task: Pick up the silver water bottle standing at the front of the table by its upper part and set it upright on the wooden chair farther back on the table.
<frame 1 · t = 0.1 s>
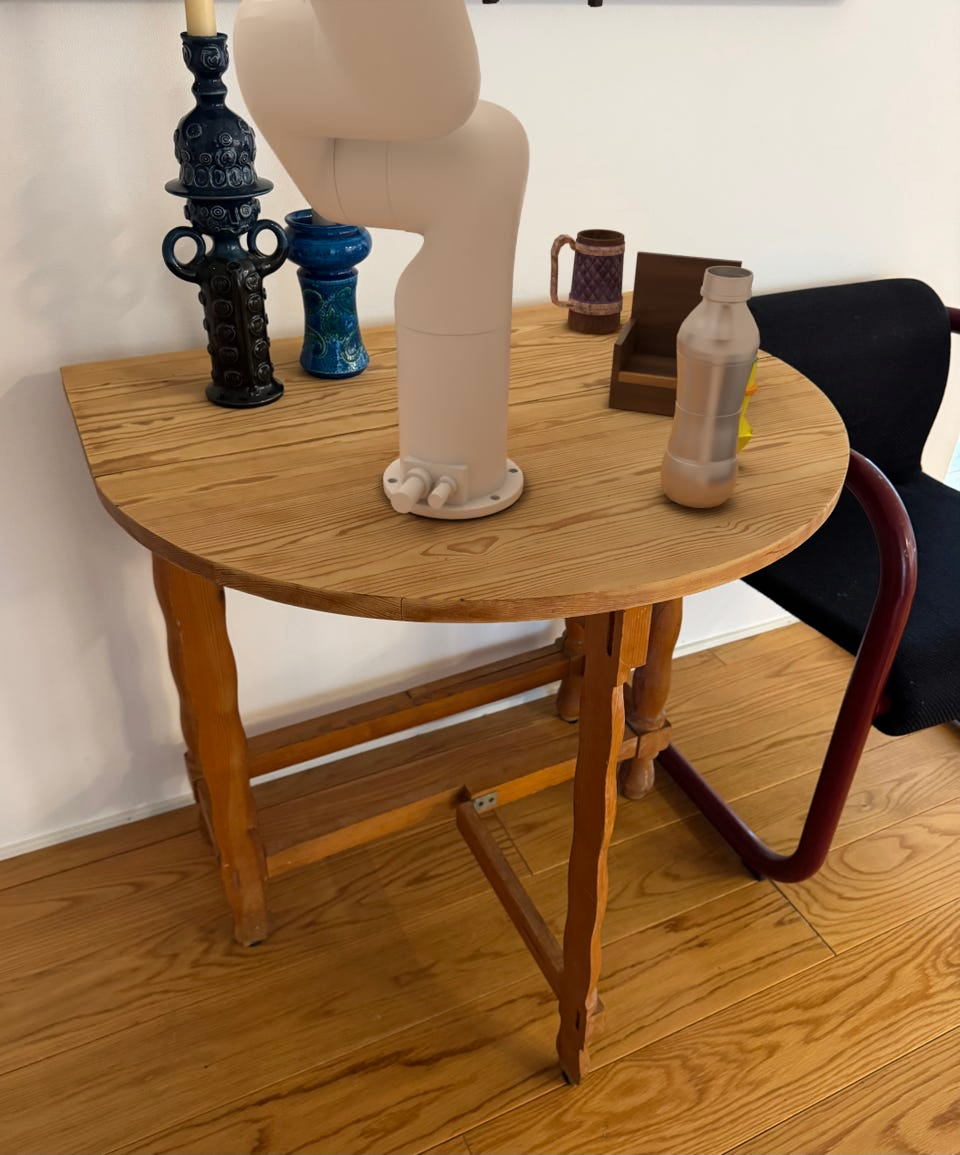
hand: (542, 5, 85), 37 cm above the table, tool pointing down, fingers open, 9 cm apart
toy figure: (721, 466, 91), on the table
wooden chair: (666, 397, 104), on the table
silver water bottle: (694, 501, 85), on the table
mug: (582, 328, 124), on the table
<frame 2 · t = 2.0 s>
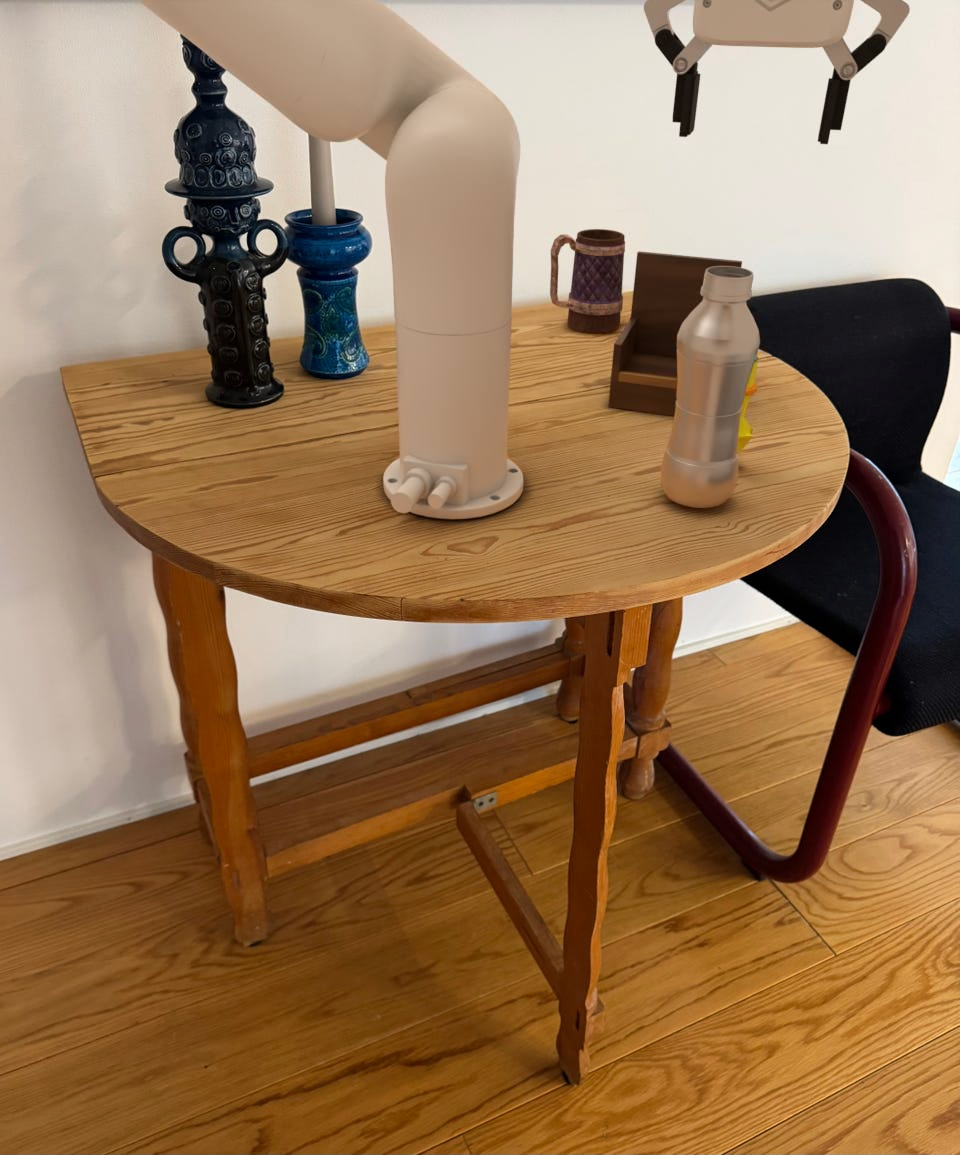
hand: (753, 137, 68), 30 cm above the table, tool pointing down, fingers open, 9 cm apart
nothing on the table moved.
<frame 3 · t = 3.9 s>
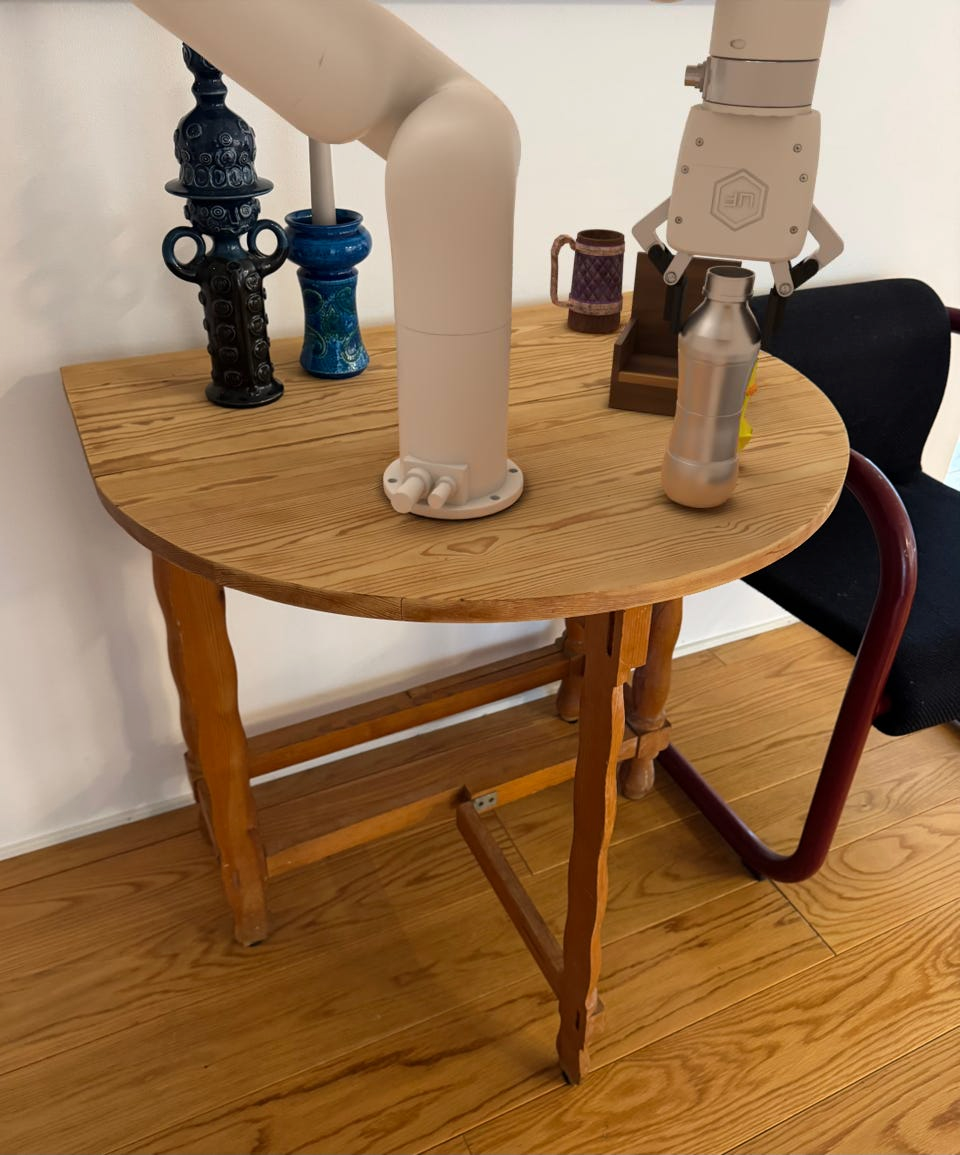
hand: (720, 334, 76), 15 cm above the table, tool pointing down, fingers closed on silver water bottle, 6 cm apart
silver water bottle: (694, 501, 85), on the table, touching gripper
everything else where it was.
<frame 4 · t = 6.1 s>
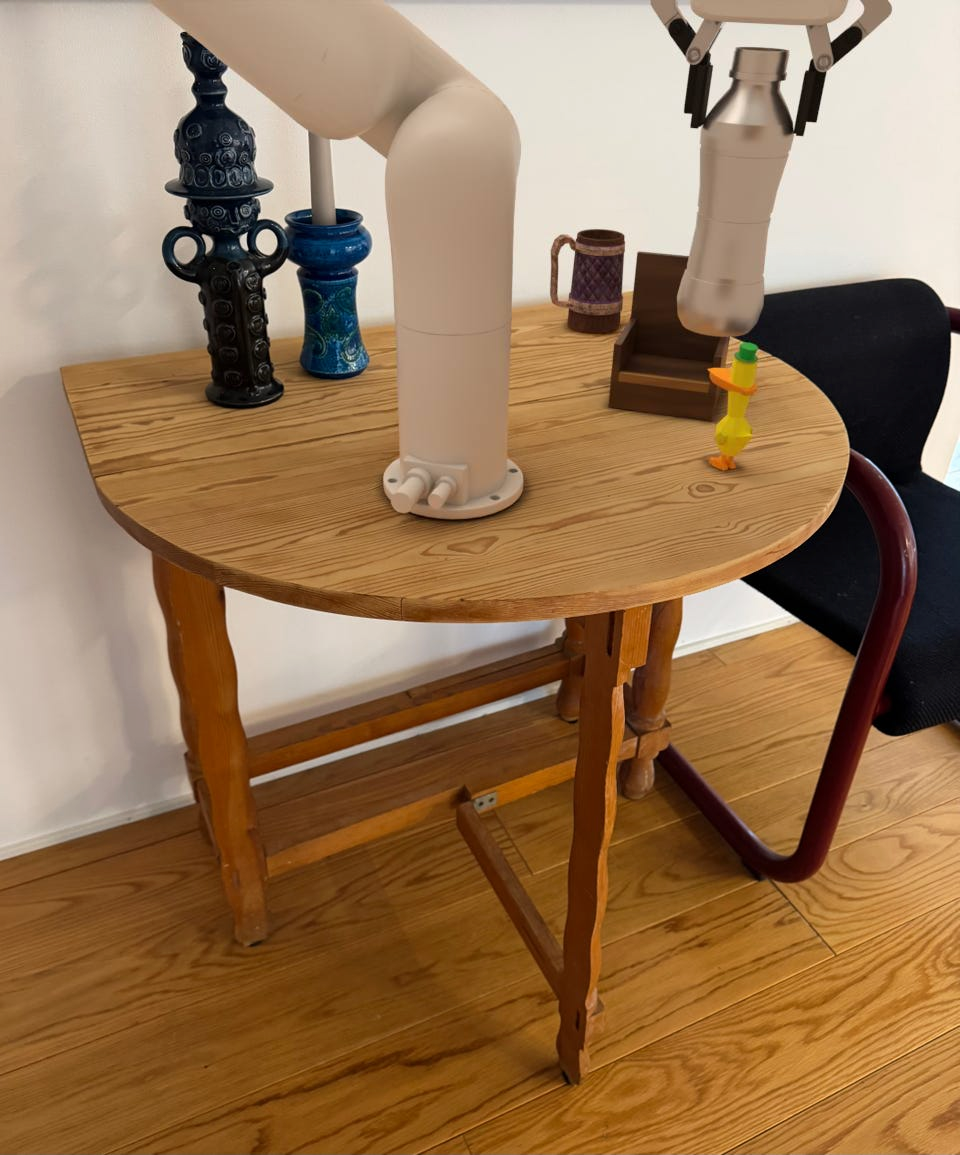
hand: (748, 127, 68), 30 cm above the table, tool pointing down, fingers closed on silver water bottle, 6 cm apart
silver water bottle: (713, 335, 76), point 15 cm above the table, touching gripper
everything else where it was.
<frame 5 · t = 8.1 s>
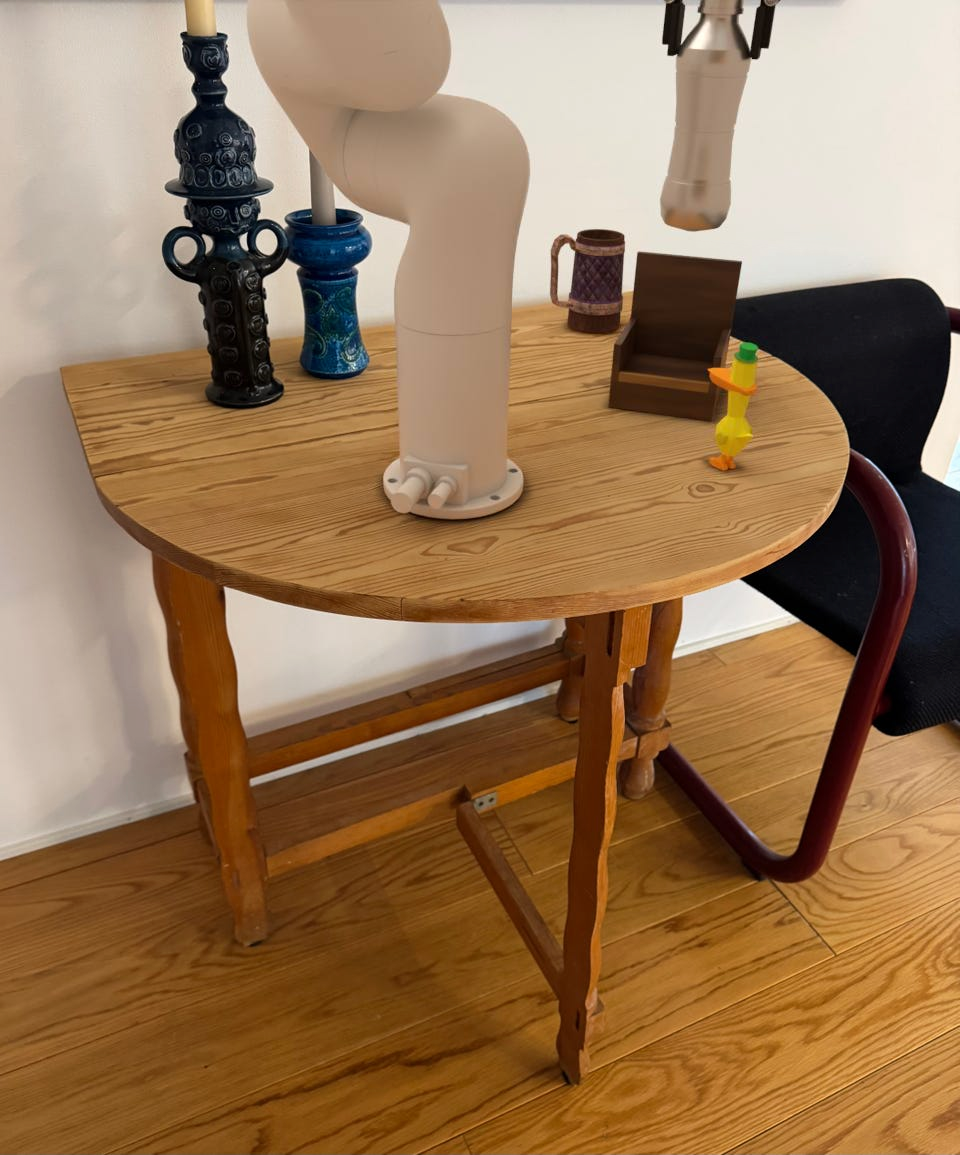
hand: (713, 54, 84), 33 cm above the table, tool pointing down, fingers closed on silver water bottle, 6 cm apart
silver water bottle: (690, 231, 93), point 18 cm above the table, touching gripper
everything else where it was.
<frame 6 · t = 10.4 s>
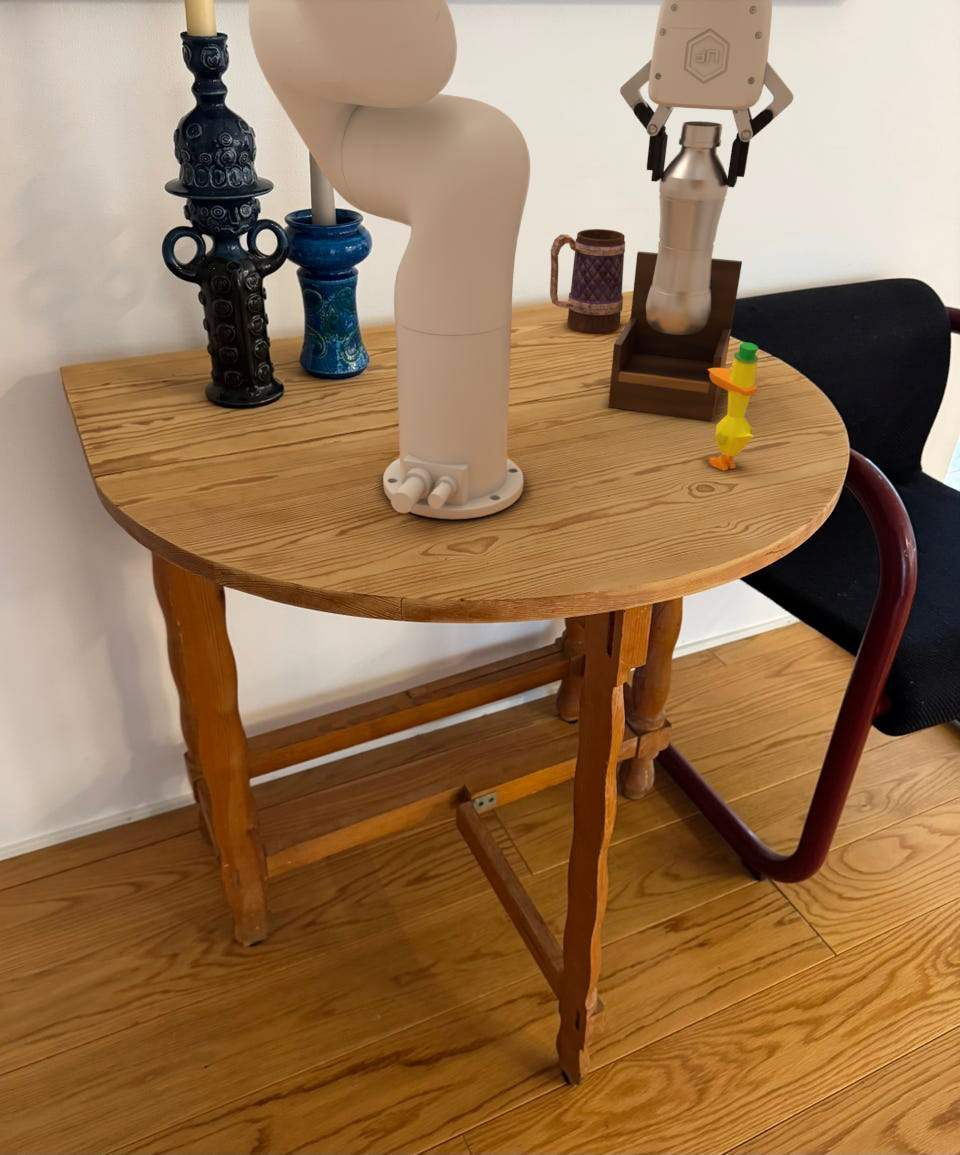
hand: (694, 180, 92), 22 cm above the table, tool pointing down, fingers closed on silver water bottle, 6 cm apart
silver water bottle: (674, 333, 100), point 7 cm above the table, touching gripper
everything else where it was.
when the fingers open (18 cm above the table, at t = 12.1 s): silver water bottle stays where it is, resting on wooden chair.
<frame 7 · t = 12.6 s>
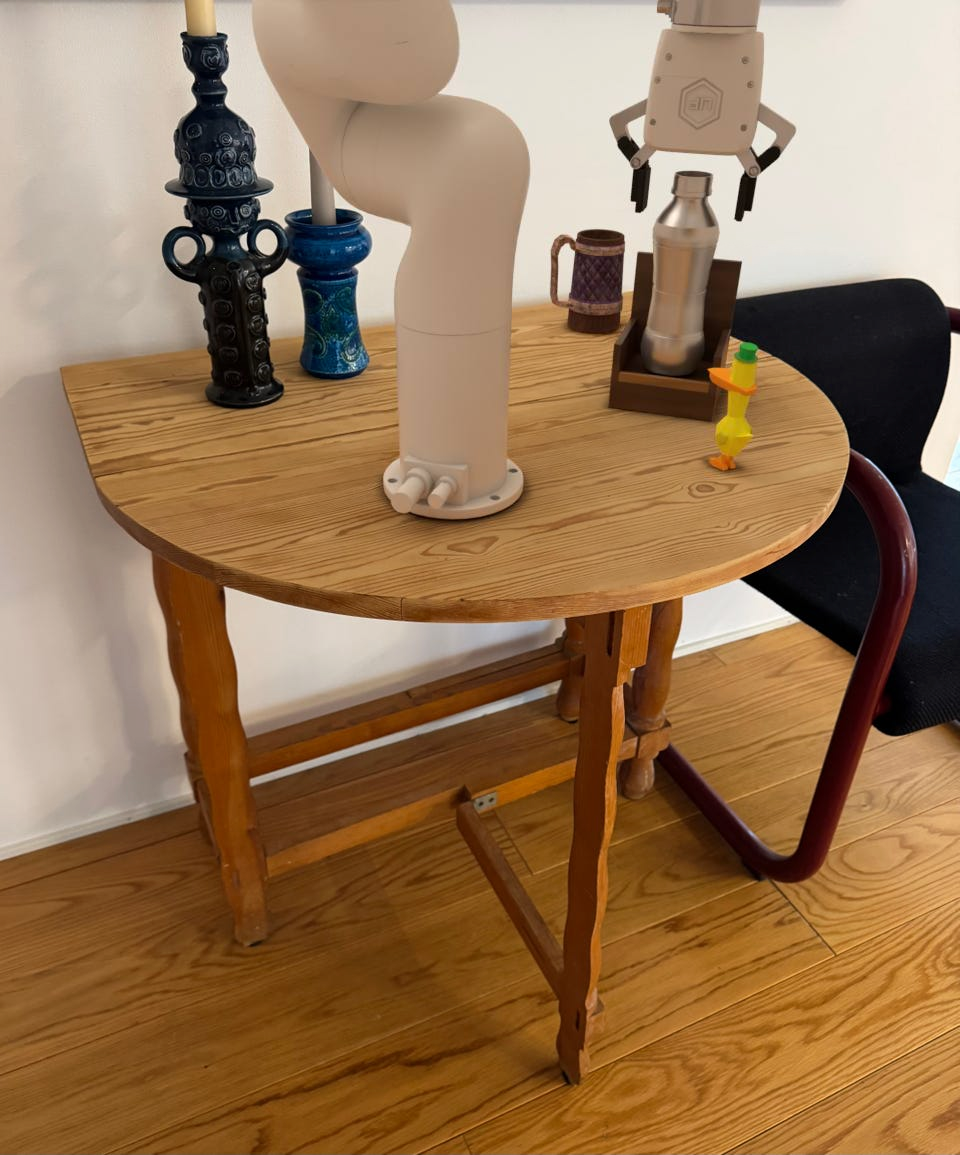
hand: (689, 214, 94), 19 cm above the table, tool pointing down, fingers open, 9 cm apart
silver water bottle: (668, 373, 103), point 3 cm above the table, touching wooden chair
everything else where it was.
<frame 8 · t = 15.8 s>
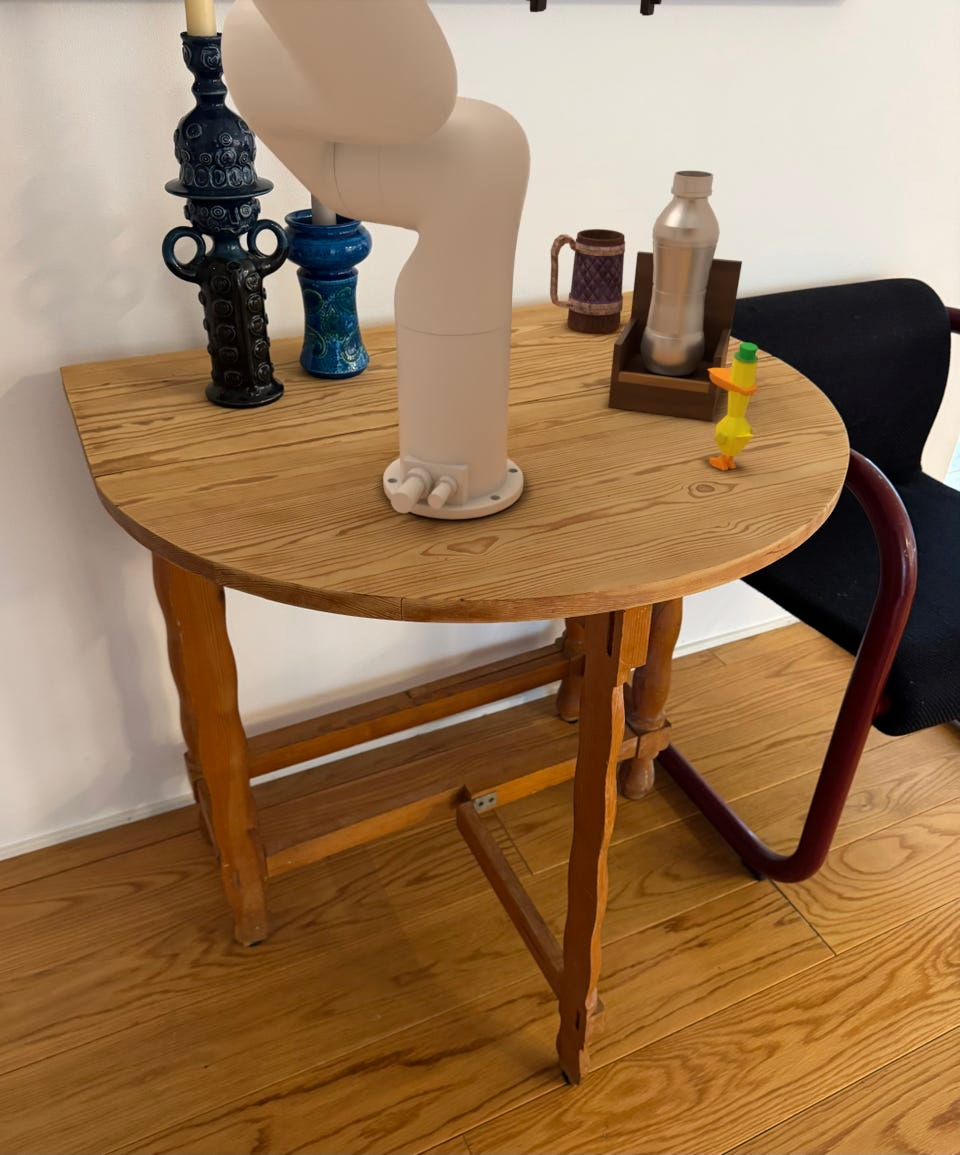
hand: (591, 13, 82), 36 cm above the table, tool pointing down, fingers open, 9 cm apart
nothing on the table moved.
at the end: silver water bottle inside the target area on the wooden chair (0.0 cm from its centre), point 2.8 cm above the wooden chair's base; silver water bottle tilted 0°; the gripper is holding nothing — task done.
